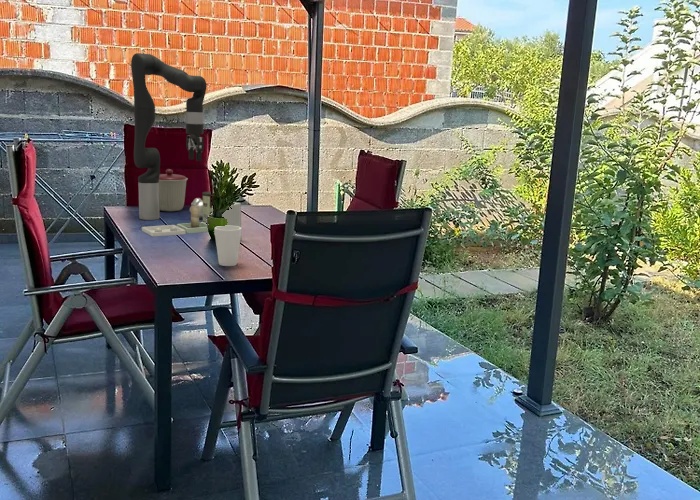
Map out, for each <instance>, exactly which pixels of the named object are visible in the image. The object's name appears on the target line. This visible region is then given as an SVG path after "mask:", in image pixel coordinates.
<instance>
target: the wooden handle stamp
mask: <svg viewBox="0 0 700 500" xmlns="http://www.w3.org/2000/svg"><path fill="white" fill-rule="evenodd" d="M190 207H191V212H190V223H191V226H186V227H187V228H198V227H201V226H199V222H200V219H199V206H192V205H191V206H190Z"/></svg>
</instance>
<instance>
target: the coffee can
mask: <svg viewBox="0 0 700 500" xmlns="http://www.w3.org/2000/svg"><path fill="white" fill-rule="evenodd" d="M202 201H203V218H202V222H204V223H206V218H207V216H208V215H210V214H211V213H212V211H213V209H212V202H211V191H209V190H208V191H203V192H202Z"/></svg>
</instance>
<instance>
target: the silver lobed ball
mask: <svg viewBox="0 0 700 500" xmlns="http://www.w3.org/2000/svg"><path fill="white" fill-rule="evenodd" d="M190 205H191V206H199V220H201V219H202V220H203V199H202V198H200V197H196V198H194V199H193V201H192V202H191V204H190ZM191 206H190V207H189V212H190V213H191Z"/></svg>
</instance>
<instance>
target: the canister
mask: <svg viewBox="0 0 700 500" xmlns="http://www.w3.org/2000/svg"><path fill="white" fill-rule="evenodd" d="M188 179H189V178H188V177H186V176H185V175H181V174H176V173H174V171H173V169H170V168H167V169H166V170H165V173H160V176H159V211H161V212H179V211H182V210H183V208H184V205H185V198H186V188H187V181H188Z"/></svg>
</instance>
